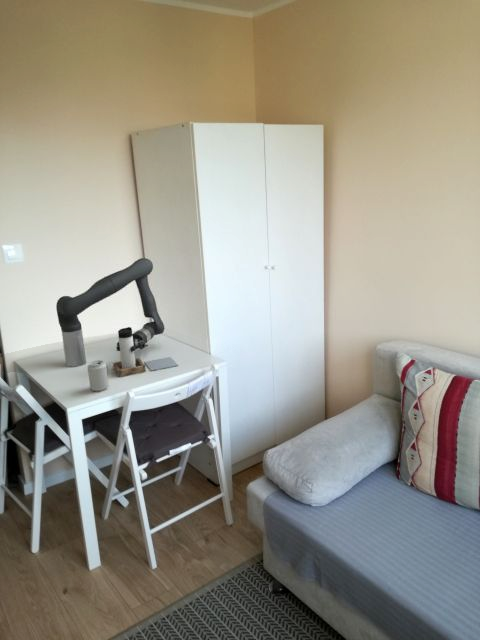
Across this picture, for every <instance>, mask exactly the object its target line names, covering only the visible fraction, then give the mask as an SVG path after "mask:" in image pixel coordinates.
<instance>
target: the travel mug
mask: <svg viewBox="0 0 480 640" xmlns="http://www.w3.org/2000/svg"><path fill="white" fill-rule="evenodd" d="M117 333H118V334H117V336H118V342H119V346H120V351H119V352H120V354H119V355H120V361H121V363H122V368H121V370H122V369H127V368H132V367H137V365H136V363H135V359H136V354H135V351H133V352H131V347H132V346H133V345H134V344H133V335H132V334H133V329H132V326H131V327H130V326H128V327H124V328H121V329H119V330H118V331H117Z"/></svg>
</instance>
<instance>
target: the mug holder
mask: <svg viewBox="0 0 480 640" xmlns="http://www.w3.org/2000/svg"><path fill="white" fill-rule="evenodd" d="M112 363H113V365H112V366H113V370H114V371H115V374H116V375H117V377H118V378H120V377H122V378H124V377H127V376H134V375H138V374H143V373H147V372H146V364H145V363H144V362H143V361H142V359H140V357H139V358H136V357H135V363H136V367H132V368H127V369H122V363H121V360H120V361H116V362H112Z"/></svg>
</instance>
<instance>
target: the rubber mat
mask: <svg viewBox="0 0 480 640" xmlns="http://www.w3.org/2000/svg"><path fill="white" fill-rule="evenodd" d="M143 363H144V365H145V366H146V367H147V368H148V369H149V371H150V372H154V371H155V372H157V371H161V370H164V369H165V370H166V369H170V368H175V367H179V364H178V363H177V361H175V360H174V359H173V358H172V357H171V356H168V357H163V358H157V359H152V360H146V361H144V362H143Z"/></svg>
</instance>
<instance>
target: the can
mask: <svg viewBox="0 0 480 640" xmlns="http://www.w3.org/2000/svg"><path fill="white" fill-rule="evenodd" d="M87 374H88V380H89V387H90V390H92V391H94V392H103V391H105V390H106V389H108V387H109V379H108V371H107V364H106V363H105V361H104V360H103V359H97V360H96V359H95V360H92V361H90V362H89V363H88V365H87Z"/></svg>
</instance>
